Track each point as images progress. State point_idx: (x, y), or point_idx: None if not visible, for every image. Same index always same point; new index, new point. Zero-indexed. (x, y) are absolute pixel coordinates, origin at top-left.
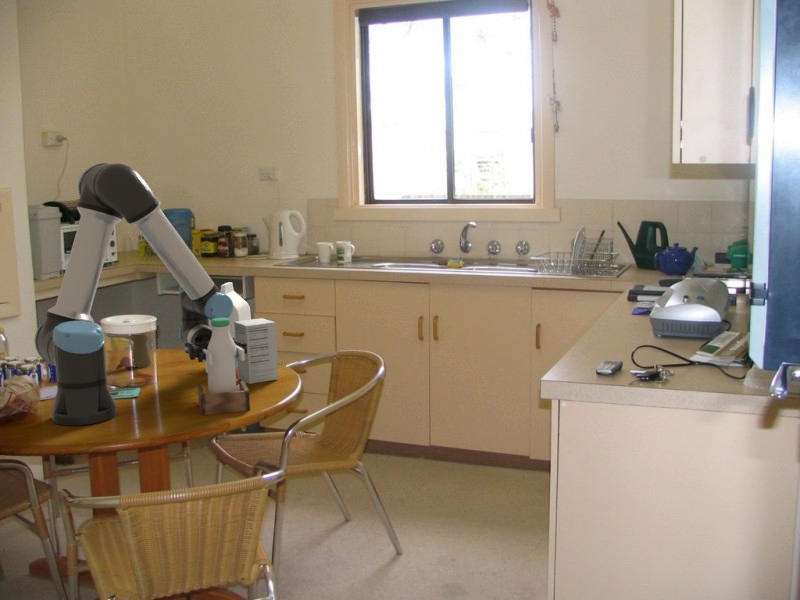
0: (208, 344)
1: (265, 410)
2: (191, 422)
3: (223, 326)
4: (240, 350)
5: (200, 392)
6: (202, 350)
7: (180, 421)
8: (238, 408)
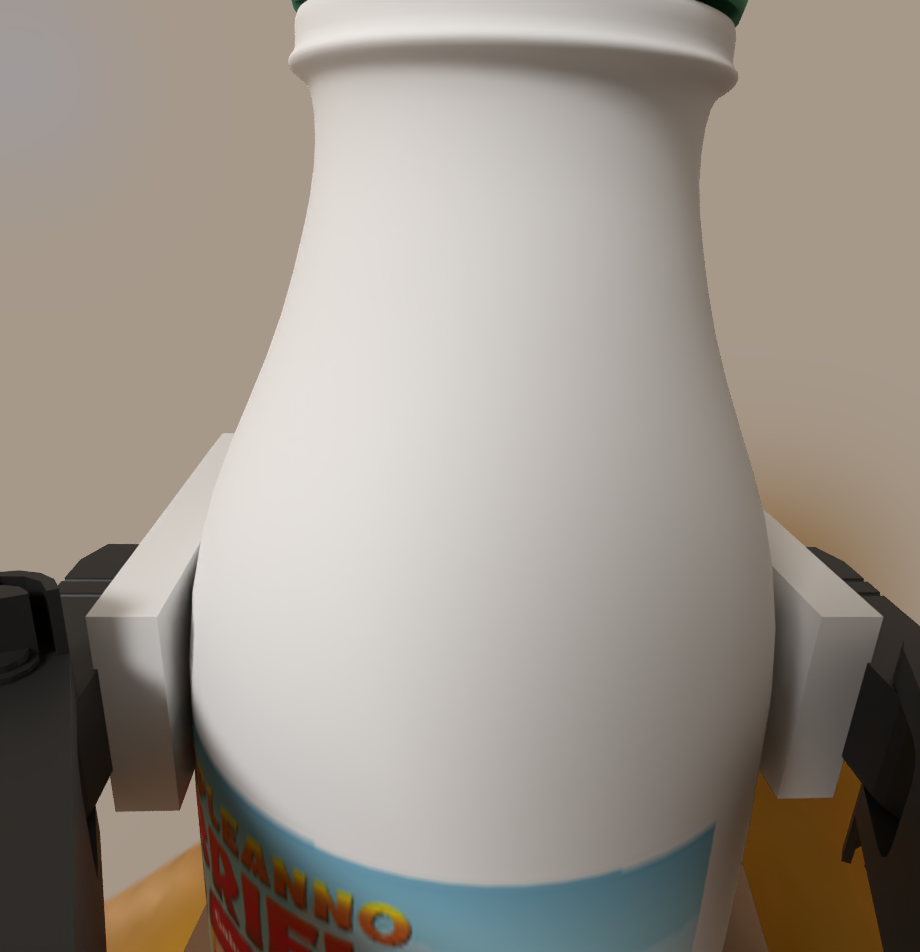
0: (759, 499)
1: (172, 865)
2: (755, 824)
3: (400, 80)
4: None
5: (757, 941)
6: (903, 695)
7: (852, 877)
8: None
